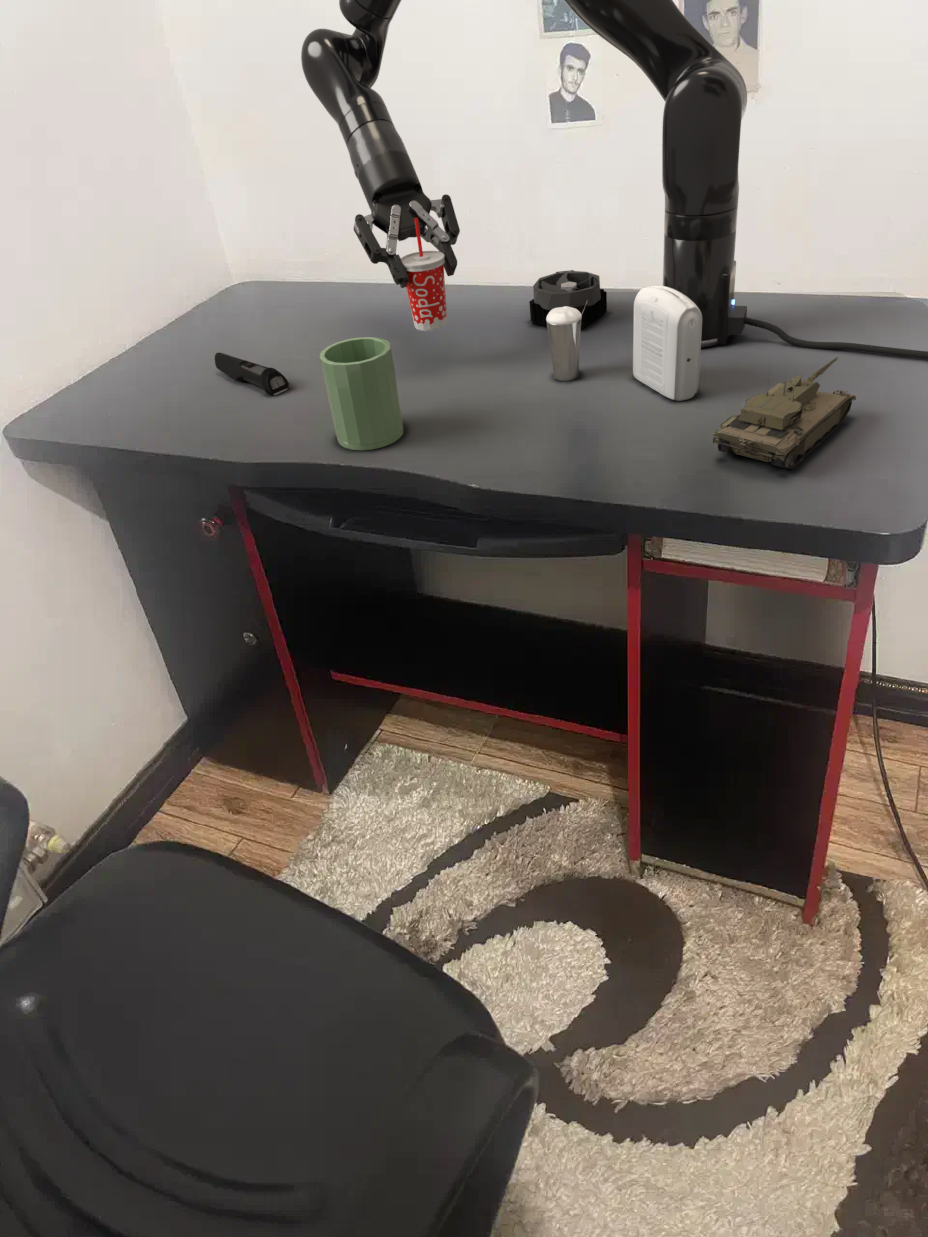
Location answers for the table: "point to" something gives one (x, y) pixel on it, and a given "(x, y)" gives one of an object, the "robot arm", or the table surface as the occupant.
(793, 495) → the table surface
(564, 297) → the cpu cooler
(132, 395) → the table surface
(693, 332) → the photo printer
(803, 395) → the tank
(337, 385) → the pen pot
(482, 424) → the table surface
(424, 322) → the beverage cup
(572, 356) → the milkshake
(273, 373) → the electric trimmer
